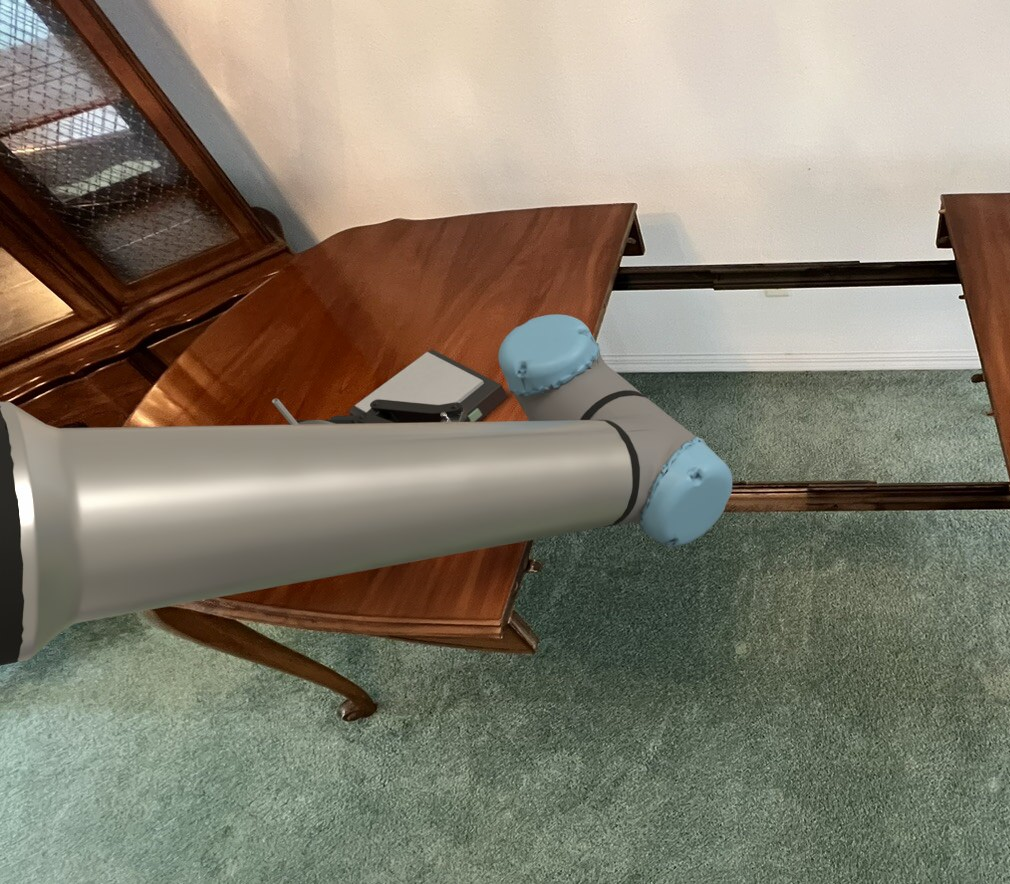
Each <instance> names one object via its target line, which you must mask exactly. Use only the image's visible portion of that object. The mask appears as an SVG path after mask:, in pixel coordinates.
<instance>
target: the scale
mask: <svg viewBox="0 0 1010 884" xmlns="http://www.w3.org/2000/svg"><path fill="white" fill-rule="evenodd" d="M508 398H509V396H508V394H507V392H506V391H505V388H504V387H503V385H502V384H501V383H499V382H497V381H496V380H495V381H494V380H493V379H491V378H489V377H488V376H485V375H483V374H481V373H479V372H478V371H475V370H473V369H471V368H469V367H467V366H465V365H464V364H462V363H460V362H458V361H456V360H454V359H452V358H450V357H448V356H446V355H444V354H442V353H440V352H438V351H436V350H434V349H430V350H429V351H426V352H425V353H424V354H422V355H421V356H419V357H418V358H417V359H416V360H414V361H412V363H410V364H408V365H407V366H405V368H403V369H402V370H400V371H399V372H398V373H397V374H395V375H394V376H392V378H390V379H388V380H387V381H386V382H384V383H383V384H382V385H380V386H379V387H378V388H376V389H374V390H373V391H372V392H371V393H369V394H368V395H366V397H364V398H363V399H361V400H360V401H359V402H357V403H356V404H355V405H354V406H353V407H352V408H351V409H349V410H348V411H347V412H348V414H349V416H350V415H359V414H360V413H363V412H368V411H369V410H370V409H371V407H370V403H371V402H372V401H374V400H377V399H382V400H392V401H402V402H413V403H423V404H434V405H441V404H448V403H454V402H458V403H460V405H461V406H462V408H463V409H464V411H465V412H466V414H467V415H468V417H469V418H470V422H481V420H483V419H484V418H485V417H486V416H488V415H489V414H490V413H491V412H492V411H493V410H495V408H497V407H498V406H500V404H502V403H504V401H505V400H506V399H508Z"/></svg>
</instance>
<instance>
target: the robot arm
mask: <svg viewBox="0 0 1010 884" xmlns="http://www.w3.org/2000/svg"><path fill="white" fill-rule="evenodd" d="M497 356H498V359H497V360H498V364H499V367H500V369H501V372H502V373H503V376H504V378H505V381H506V383H507V385H508V386H507V388H508V390H509V392H510V393H511V394H513V396H514V397H515V399H516V401H517V403H518V404H519V406H520V407H521V409H522V411H523V412H524V415H525V416H526V418H527V419H528V420H512V421H511V420H509V421H508V420H506V421H505V420H501V421H479V422H470V418H469V417H468V415H467V414H466V412H465V411H464V409H463V408H462V406H461V405H460V403H458V402H454V403H448V404H441V405H434V404H423V403H413V402H402V401H392V400H382V399H377V400H374V401H372V402H371V403H370V407H371V409H370V410H369V411H368V412H363V413H360V414H359V415H350V414H349V415H334V416H331V417H330V418H329V419H323V420H324V421H328V422H332V423H336V424H305V425H291V424H290V423H289V422H288V424H251V425H249V424H248V425H244V424H243V425H242V424H241V425H185V426H184V425H180V426H179V425H178V426H177V425H176V426H121V427H115V426H114V427H113V426H112V427H61V428H60V427H55V426H53V425H49V424H46V423H44V422H43V421H41V420H39V419H38V418H36V417H35V416H33V415H31V414H30V413H28V412H26V410H24V409H22V408H20V407H19V406H17V405H15V404H14V403H12V402H10V401H0V667H2V666H7V665H11V664H17V663H20V662H26V661H30V660H31V659H32V658H33V657H34V656H35V655H37V654H38V653H39V652H40V651H41V650H42V649H44V648H45V647H46V646H47V645H48V644H49V643H50V642H51V641H52V640H54V639H55V638H56V637H57V636H58V635H60V634H61V633H62V632H63V631H65V630H66V629H69V628H70V627H72V626H74V625H75V624H79V623H85V622H90V621H97V620H103V619H106V618H107V619H108V618H111V617H117V616H123V615H128V614H134V613H140V612H145V611H150V610H156V609H161V608H168V607H173V606H178V605H183V604H189V603H194V602H200V601H205V600H211V599H216V598H221V597H227V596H234V595H238V594H243V593H249V592H255V591H261V590H265V589H271V588H275V587H276V588H277V587H282V586H287V585H293V584H299V583H304V582H309V581H316V580H321V579H326V578H331V577H337V576H343V575H348V574H349V575H350V574H354V573H358V572H365V571H369V570H370V571H371V570H375V569H381V568H386V567H387V568H388V567H392V566H397V565H404V564H409V563H415V562H420V561H424V560H431V559H436V558H441V557H447V556H453V555H458V554H462V553H468V552H474V551H480V550H485V549H490V548H496V547H502V546H506V545H507V546H508V545H512V544H518V543H524V542H528V541H533V540H534V541H535V540H540V539H546V538H550V537H555V536H556V537H557V536H562V535H567V534H573V533H578V532H584V531H589V530H595V529H600V528H606V527H613V526H614V527H615V526H620V525H626V524H637V525H639V527H640V528H641V532H642V533H643V534H645V535H646V536H647V535H648V536H649V537H652V538H653V539H654V540H656V541H657V542H658V543H659V544H661V545H665V546H669V547H680V546H685V545H687V544H689V543H691V542H694V541H695V540H697V539H699V538H700V537H702V536H703V535H704V534H706V533H707V532H708V531H709V530H710V529H711V528H712V527H713V526H714V525H715V524H716V522H717V521H719V519H720V518H721V516H722V514H723V513H724V511H725V510H726V506H727V503H728V502H729V499H730V498H731V496H732V492H733V476H732V471H731V470H730V467H729V466H728V465H727V463H726V462H725V461H724V460H723V459H722V458H720V457H719V455H718V454H716V453H715V452H714V451H713V450H712V449H711V447H709V446H708V445H707V443H706V442H705V440H704V439H703V438H701V437H698V436H696V435H695V434H694V433H692V432H691V431H690V430H688V429H687V428H685V426H683V425H682V424H680V423H679V422H678V421H676V420H675V419H674V418H673V417H672V416H670V415H669V414H668V413H666V411H664V410H663V409H661V408H660V407H659V406H657V404H655V403H654V402H653V401H651V400H650V399H649V398H648V397H647V396H646V395H645V394H643V393H642V392H641V391H639V390H638V389H637V388H636V387H635V386H633V385H632V384H631V383H630V382H629V381H627V380H626V379H625V378H624V377H622V376H621V374H619V373H618V372H616V371H615V370H614V369H612V368H611V367H610V366H609V365H608V364H607V363H606V361H605V360H604V359H603V357H602V355H601V348H600V344H599V343H598V342H597V341H596V339H595V338H594V336H593V334H592V332H591V330H590V328H589V327H588V326H587V325H586V324H585V323H584V322H583V321H582V320H580V319H579V318H577V317H574V316H571V315H567V314H560V313H559V314H558V313H557V314H556V313H555V314H545V315H541V316H537V317H534V318H531V319H528V320H527V321H526V322H525V323H523V324H521V325H519V326H516V327H514V328H513V329H512V330H511V331H510V332H509V333H508V334H507V336H505V338H504V339H503V341H502V342H501V344H500V346H499V349H498V355H497ZM295 420H296V421H297V423H300V422H303V421H308V420H309V419H300V420H299V419H295Z"/></svg>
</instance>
